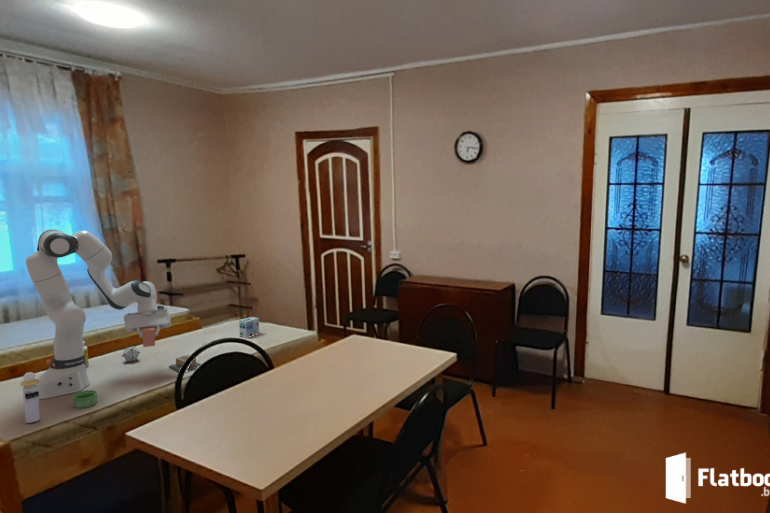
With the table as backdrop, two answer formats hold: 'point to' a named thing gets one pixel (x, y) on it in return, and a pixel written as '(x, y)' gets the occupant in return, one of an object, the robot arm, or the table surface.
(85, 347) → the supplement bottle
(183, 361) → the tower base
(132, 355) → the game die
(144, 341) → the red block
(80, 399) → the ramekin
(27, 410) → the perfume bottle
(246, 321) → the light bulb box
